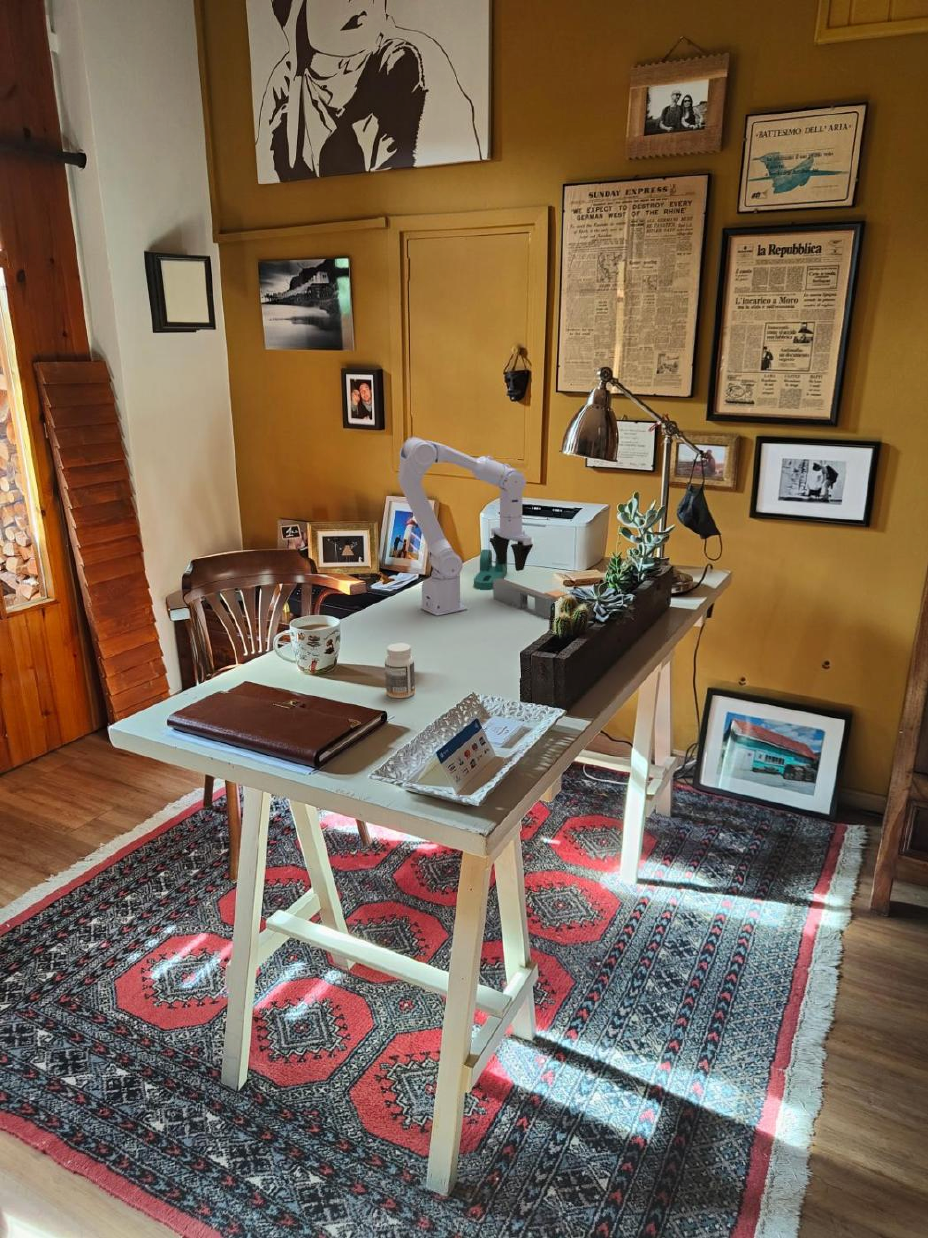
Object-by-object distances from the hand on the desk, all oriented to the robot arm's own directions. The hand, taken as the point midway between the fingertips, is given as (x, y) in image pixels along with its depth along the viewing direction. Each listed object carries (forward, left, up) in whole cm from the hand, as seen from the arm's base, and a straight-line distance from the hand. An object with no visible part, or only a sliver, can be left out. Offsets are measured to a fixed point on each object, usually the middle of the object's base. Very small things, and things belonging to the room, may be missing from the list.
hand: (510, 567), depth 231 cm
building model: (-1, -6, -9) cm, 11 cm away
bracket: (+7, +19, -10) cm, 23 cm away
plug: (+6, -10, -9) cm, 15 cm away
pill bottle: (-55, -36, -10) cm, 66 cm away
